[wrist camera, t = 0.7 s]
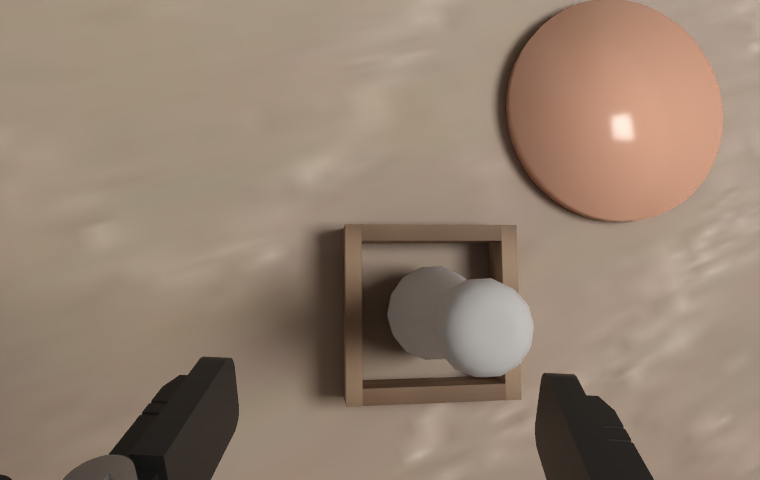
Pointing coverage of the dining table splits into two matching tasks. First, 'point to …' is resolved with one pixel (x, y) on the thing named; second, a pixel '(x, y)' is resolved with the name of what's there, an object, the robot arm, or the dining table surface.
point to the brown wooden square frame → (354, 387)
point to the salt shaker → (461, 321)
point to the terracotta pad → (614, 111)
